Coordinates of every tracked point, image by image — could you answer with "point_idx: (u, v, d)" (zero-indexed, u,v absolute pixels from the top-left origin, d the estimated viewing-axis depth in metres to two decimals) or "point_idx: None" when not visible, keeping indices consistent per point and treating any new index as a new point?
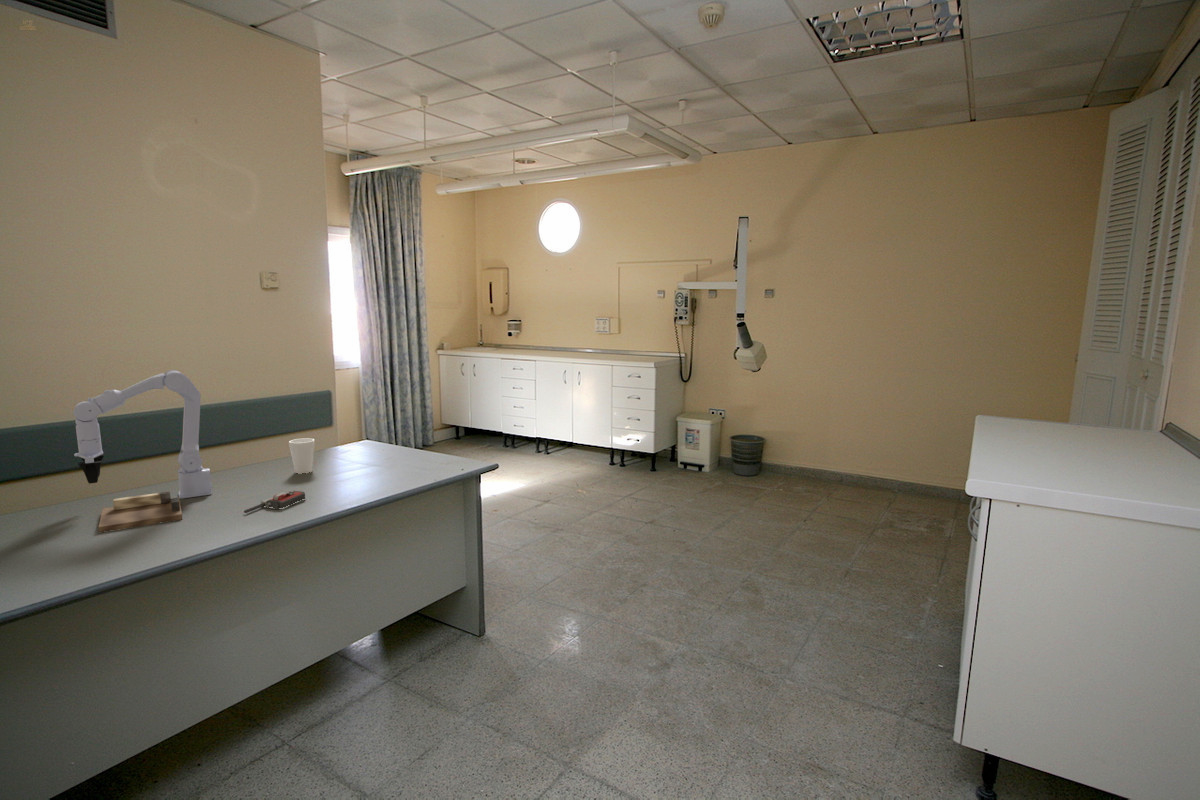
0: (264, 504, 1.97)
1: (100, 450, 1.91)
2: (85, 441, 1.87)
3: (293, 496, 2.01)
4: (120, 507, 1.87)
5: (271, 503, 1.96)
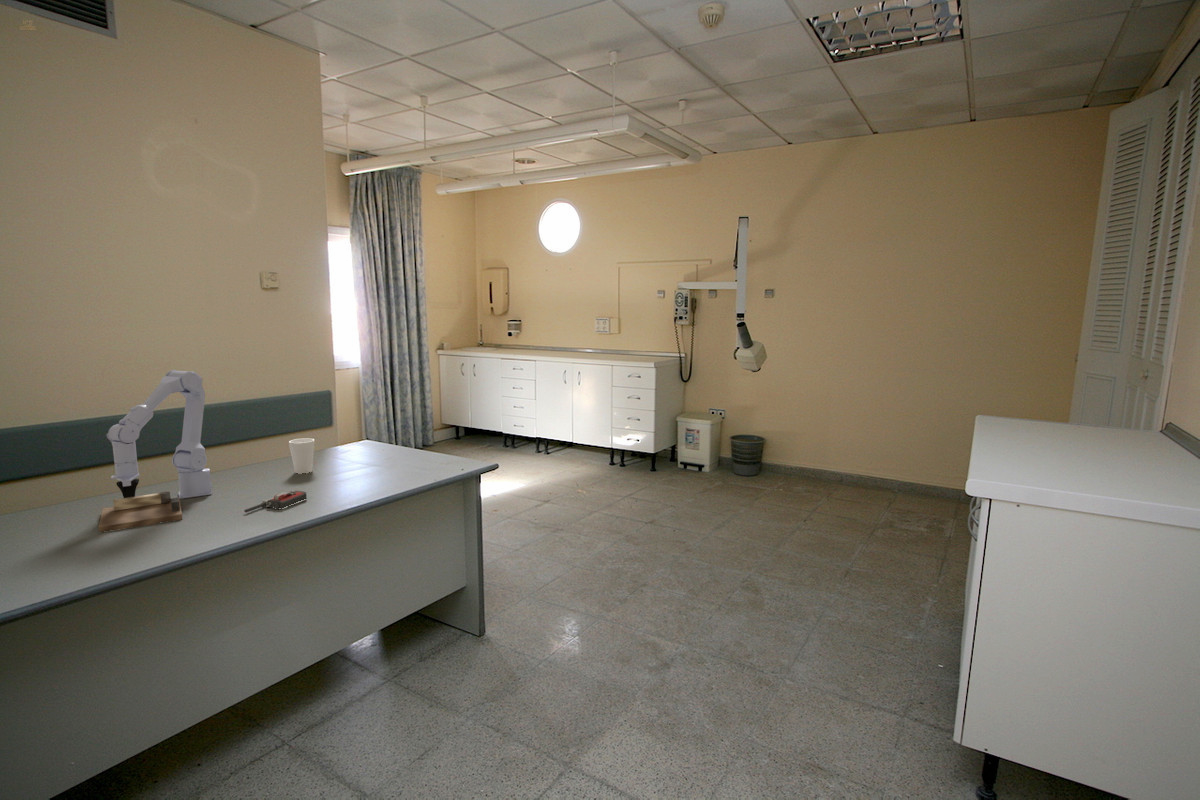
0: (265, 504, 1.98)
1: (136, 472, 1.89)
2: (122, 464, 1.86)
3: (294, 496, 2.01)
4: (120, 508, 1.87)
5: (272, 503, 1.97)
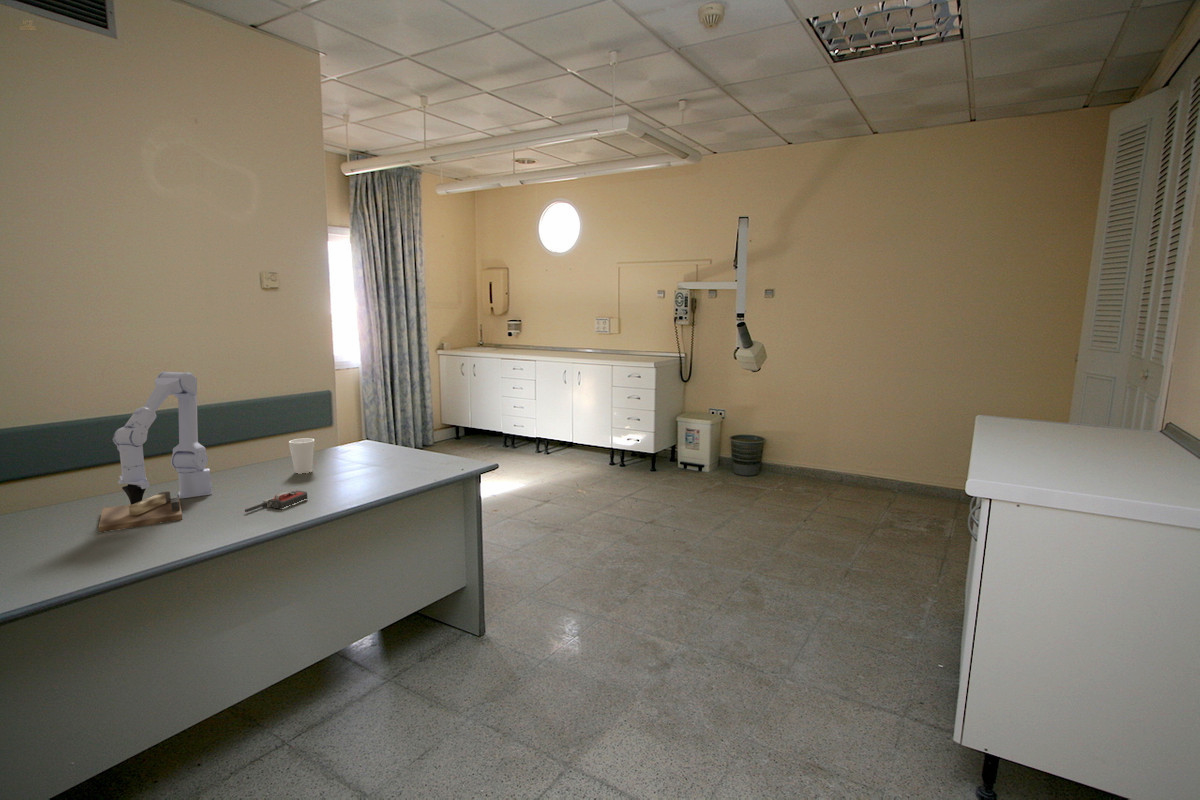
0: (266, 503, 1.98)
1: None
2: (134, 467, 1.82)
3: (295, 496, 2.01)
4: (141, 511, 1.84)
5: (272, 503, 1.97)
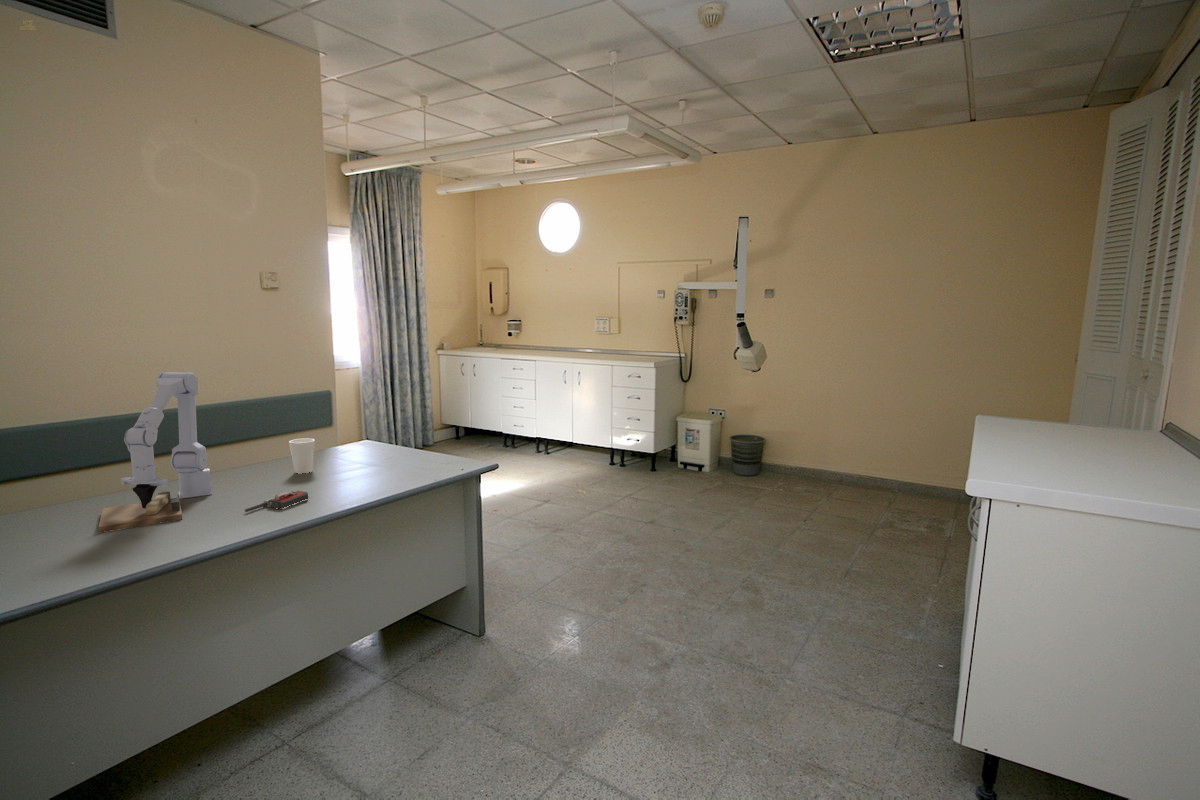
0: (266, 503, 1.98)
1: None
2: (149, 466, 1.83)
3: (295, 496, 2.01)
4: (157, 510, 1.85)
5: (272, 503, 1.97)
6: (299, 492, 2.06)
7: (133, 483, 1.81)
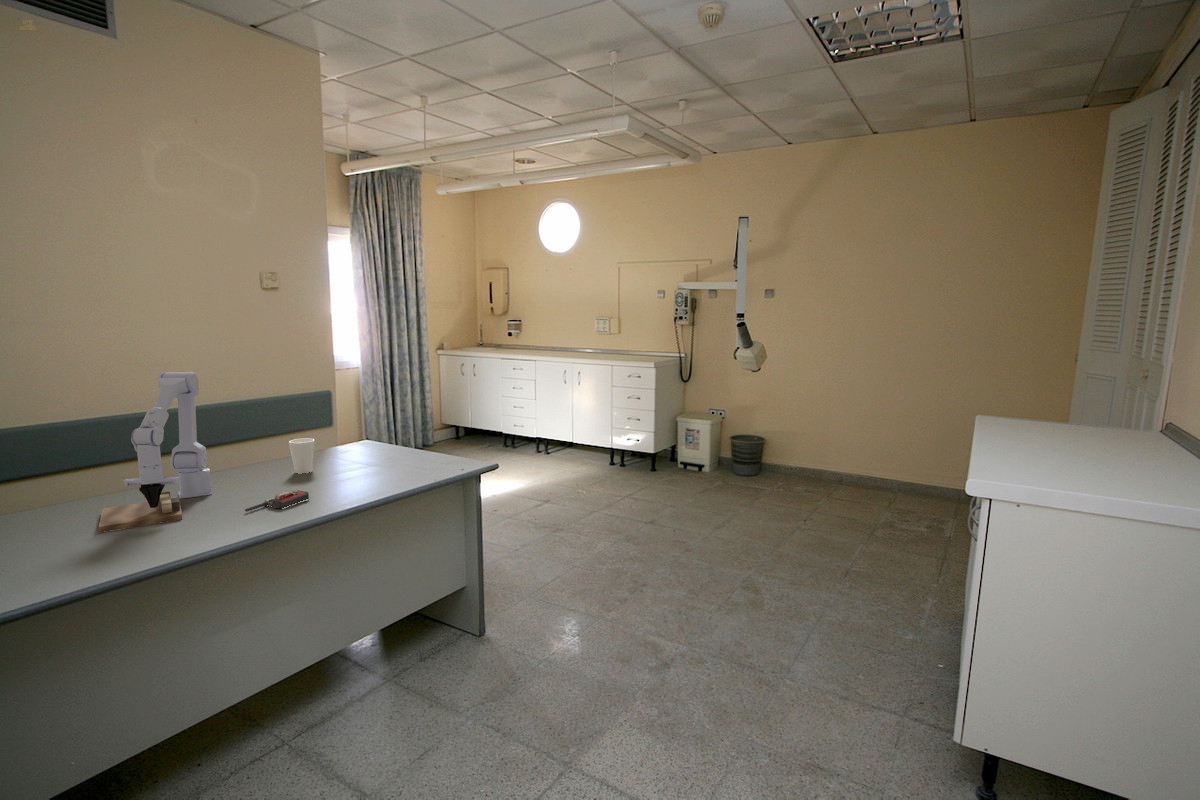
0: (267, 503, 1.98)
1: None
2: (159, 465, 1.85)
3: (296, 496, 2.01)
4: None
5: (273, 502, 1.97)
6: (300, 492, 2.06)
7: (145, 483, 1.82)
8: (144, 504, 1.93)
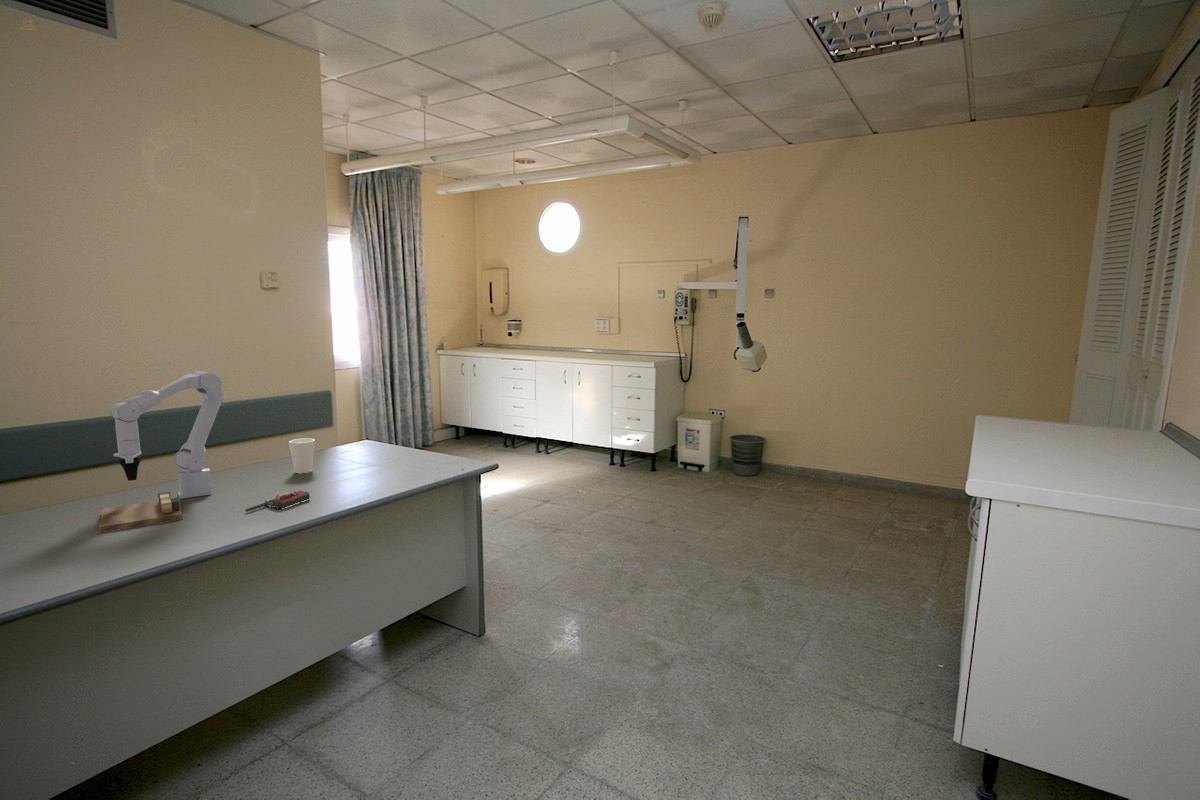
0: (267, 503, 1.98)
1: (139, 450, 1.93)
2: (125, 441, 1.89)
3: (296, 496, 2.01)
4: None
5: (273, 503, 1.97)
6: (301, 492, 2.06)
7: None
8: (144, 504, 1.93)
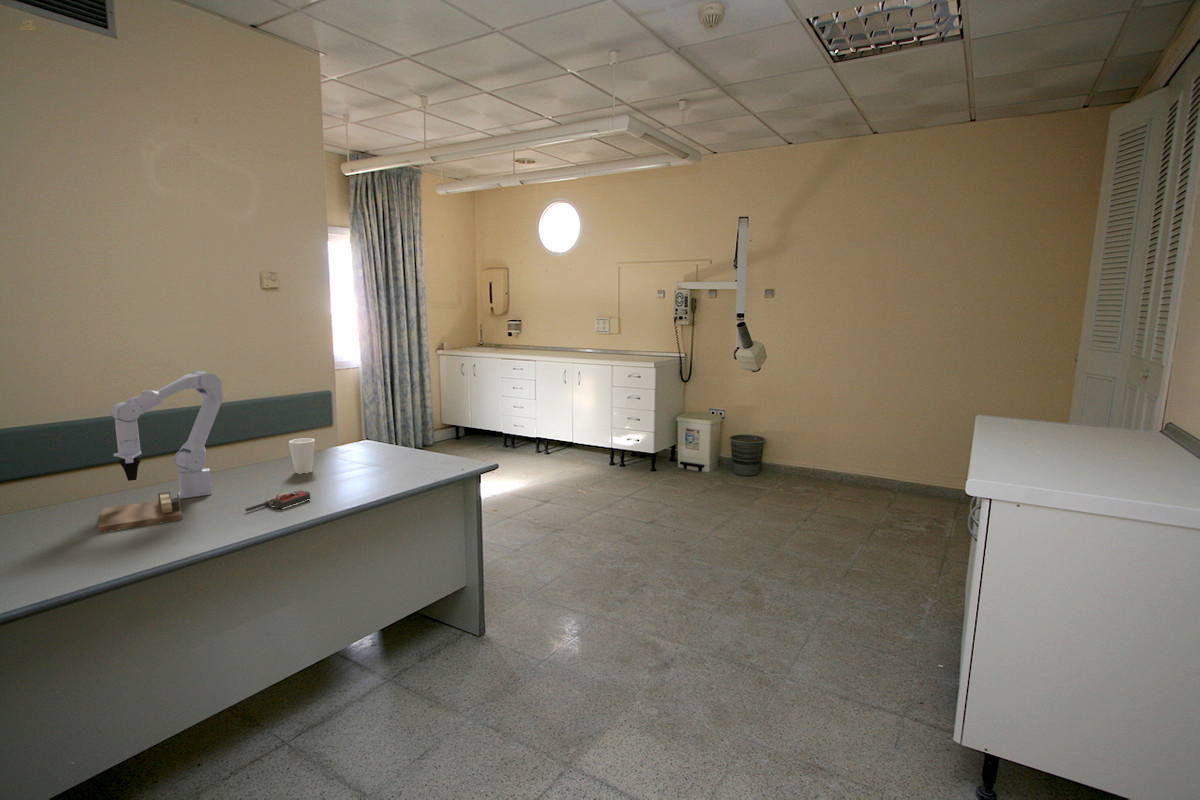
0: (268, 503, 1.98)
1: (139, 450, 1.93)
2: (125, 441, 1.89)
3: (296, 496, 2.01)
4: None
5: (273, 502, 1.97)
6: (301, 492, 2.06)
7: None
8: (144, 504, 1.93)
